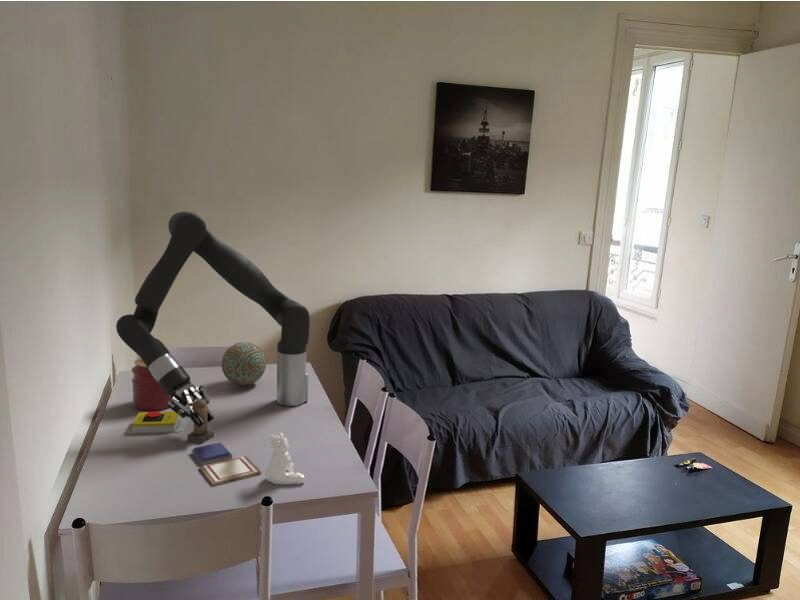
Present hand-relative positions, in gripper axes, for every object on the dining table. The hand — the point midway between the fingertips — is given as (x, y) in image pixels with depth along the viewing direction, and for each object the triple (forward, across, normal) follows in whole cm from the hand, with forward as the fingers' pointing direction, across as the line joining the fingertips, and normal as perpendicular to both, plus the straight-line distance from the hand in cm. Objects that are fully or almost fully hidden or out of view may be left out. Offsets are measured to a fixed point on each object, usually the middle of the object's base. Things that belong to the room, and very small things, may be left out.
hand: (206, 422), depth 167 cm
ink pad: (+9, -8, -2) cm, 12 cm away
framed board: (+15, -13, -8) cm, 22 cm away
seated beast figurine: (+25, -11, -18) cm, 33 cm away
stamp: (+2, 0, +5) cm, 5 cm away
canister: (-18, +15, +25) cm, 34 cm away
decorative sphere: (-8, +43, +16) cm, 47 cm away
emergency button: (-9, +2, +17) cm, 19 cm away
